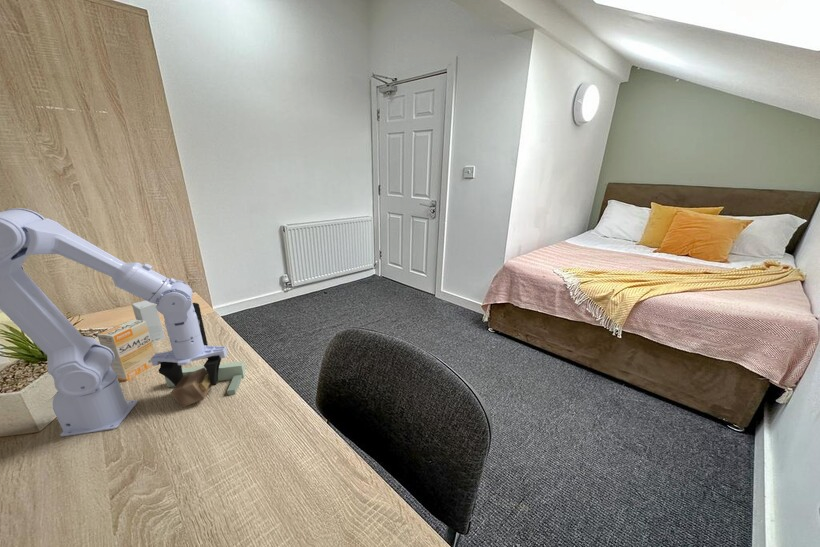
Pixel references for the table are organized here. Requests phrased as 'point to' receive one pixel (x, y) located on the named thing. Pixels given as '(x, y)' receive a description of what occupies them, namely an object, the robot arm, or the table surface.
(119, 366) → the supplement box
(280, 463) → the table surface
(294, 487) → the table surface
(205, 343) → the remote control
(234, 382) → the green l-shaped block
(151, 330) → the skincare box
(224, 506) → the table surface
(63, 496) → the table surface
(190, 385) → the brown block
